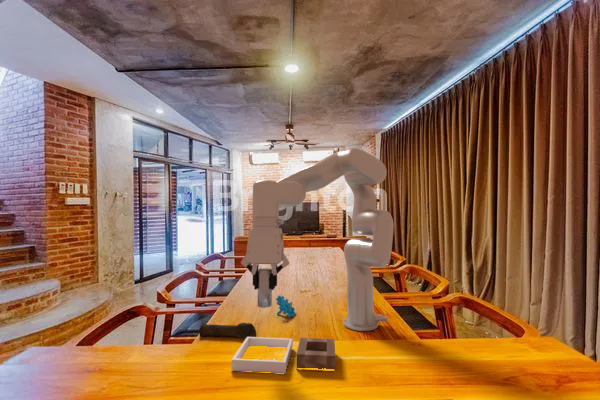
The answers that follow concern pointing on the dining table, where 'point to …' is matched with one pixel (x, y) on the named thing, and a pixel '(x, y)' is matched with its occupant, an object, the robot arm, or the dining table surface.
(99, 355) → the dining table surface
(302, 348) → the socket block
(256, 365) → the tray
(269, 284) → the pin
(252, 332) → the hand tool
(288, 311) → the teal knobbly figurine
